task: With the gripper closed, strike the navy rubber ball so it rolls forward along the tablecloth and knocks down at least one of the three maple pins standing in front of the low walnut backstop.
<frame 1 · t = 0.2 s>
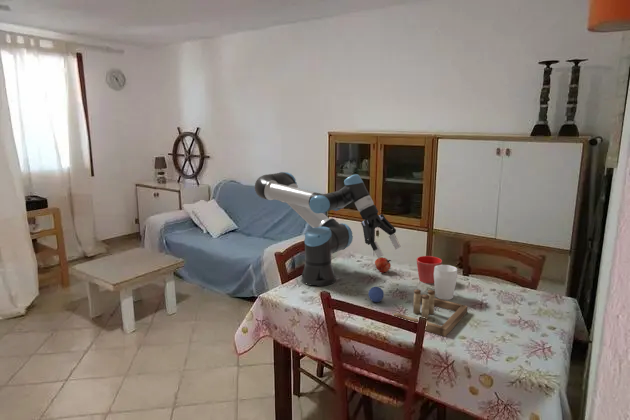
hand: (389, 252, 177), 15 cm above the table, tool tilted 35°, fingers open, 13 cm apart
pin left: (430, 313, 154), on the table
backstop: (429, 316, 151), on the table
pomegranate: (382, 272, 197), on the table
flower pot: (428, 280, 185), on the table
ball: (376, 294, 164), on the table
pin right: (424, 318, 150), on the table
cup: (444, 297, 168), on the table
pin front: (416, 312, 154), on the table
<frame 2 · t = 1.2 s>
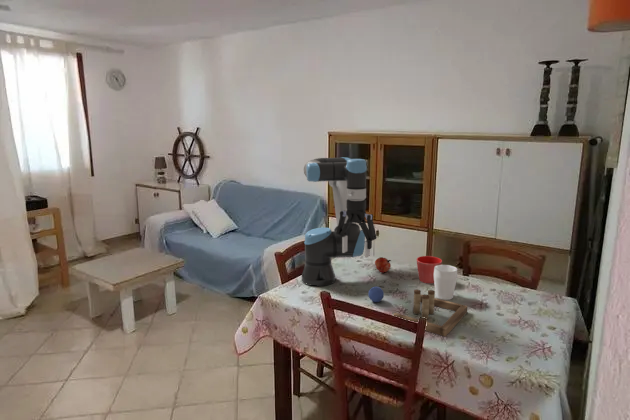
hand: (355, 254, 167), 18 cm above the table, tool pointing down, fingers open, 10 cm apart
nothing on the table moved.
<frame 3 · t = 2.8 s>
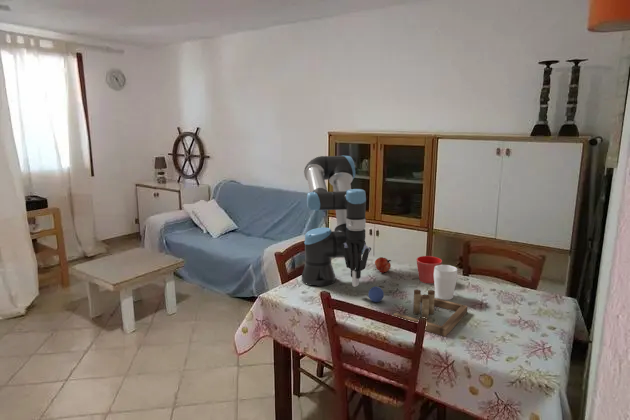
hand: (355, 285, 169), 5 cm above the table, tool pointing down, fingers closed
nothing on the table moved.
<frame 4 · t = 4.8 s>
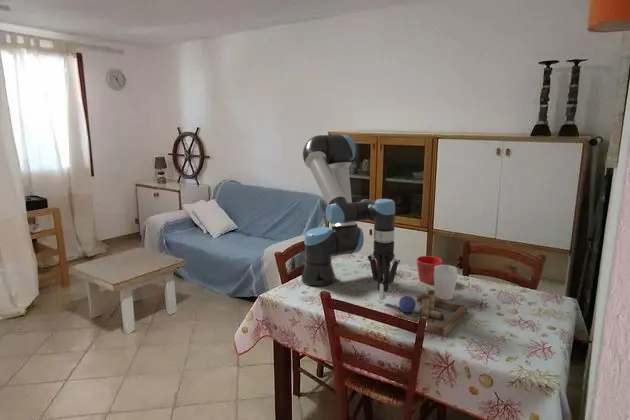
hand: (382, 298, 162), 2 cm above the table, tool pointing down, fingers closed
ball: (407, 304, 155), on the table
pin front: (420, 310, 153), point 1 cm above the table, tilted 90°
everything else where it was.
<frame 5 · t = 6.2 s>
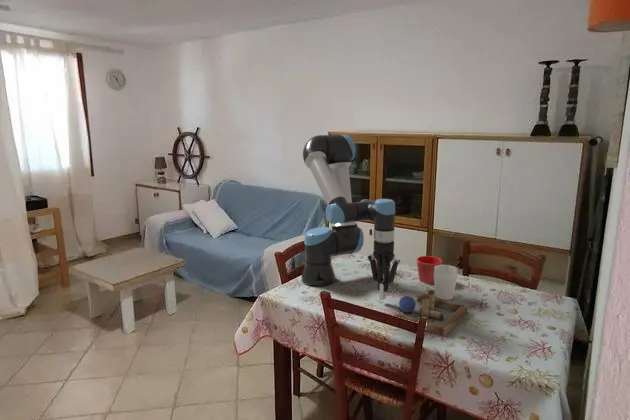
hand: (382, 298, 162), 2 cm above the table, tool pointing down, fingers closed
nothing on the table moved.
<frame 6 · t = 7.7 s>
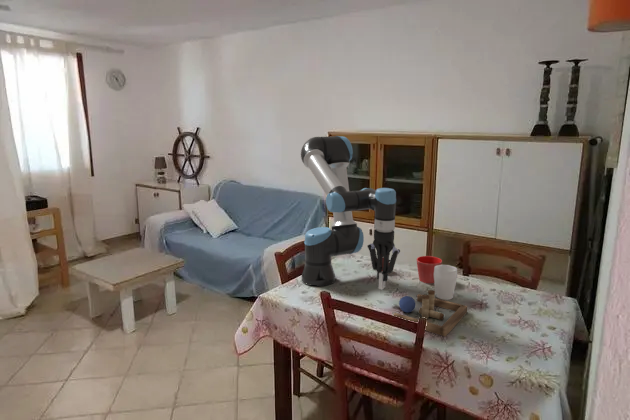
hand: (381, 287, 162), 6 cm above the table, tool pointing down, fingers closed
nothing on the table moved.
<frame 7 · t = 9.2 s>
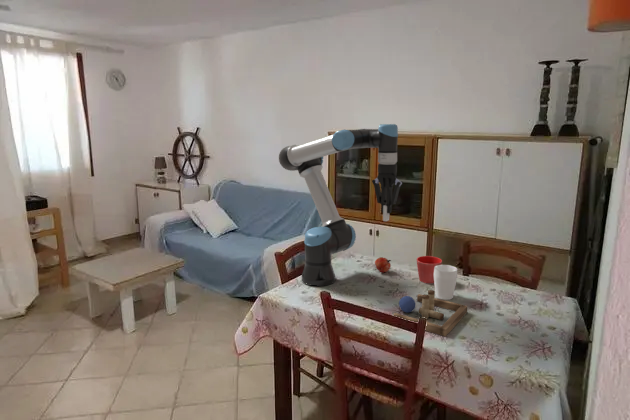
hand: (386, 220, 172), 29 cm above the table, tool pointing down, fingers closed
nothing on the table moved.
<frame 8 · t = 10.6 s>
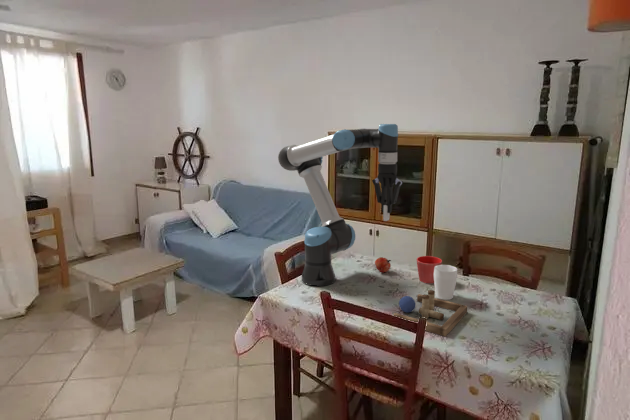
hand: (386, 220, 173), 29 cm above the table, tool pointing down, fingers closed
nothing on the table moved.
at the end: 1 of 3 knocked over (down: pin front; still standing: pin left, pin right); pin front never touched the robot; ball moved 13.9 cm from its start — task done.
